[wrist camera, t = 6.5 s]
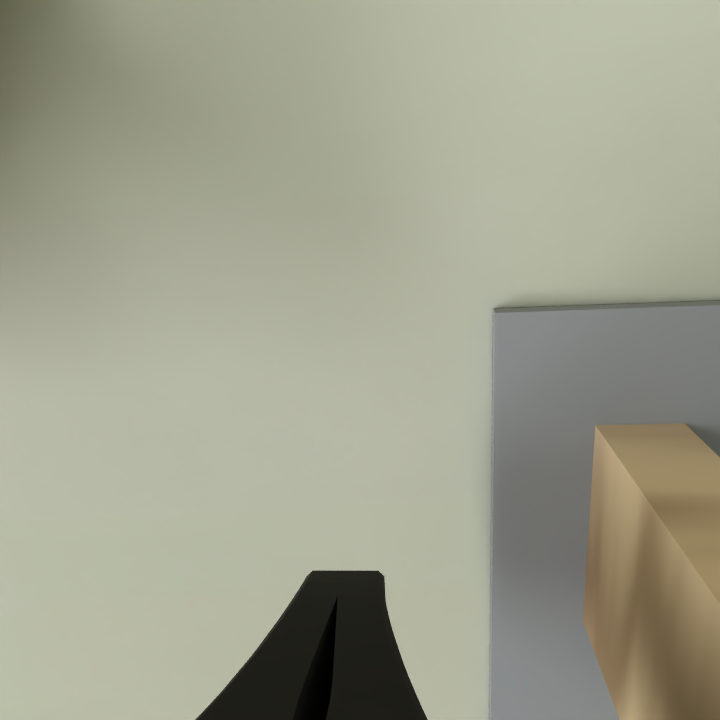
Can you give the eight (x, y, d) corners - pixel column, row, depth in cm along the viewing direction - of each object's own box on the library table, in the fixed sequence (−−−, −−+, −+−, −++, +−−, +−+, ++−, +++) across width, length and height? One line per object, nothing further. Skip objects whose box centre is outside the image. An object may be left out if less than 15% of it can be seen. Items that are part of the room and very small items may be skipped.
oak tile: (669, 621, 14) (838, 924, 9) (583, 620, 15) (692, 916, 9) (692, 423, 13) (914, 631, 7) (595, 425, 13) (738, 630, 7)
